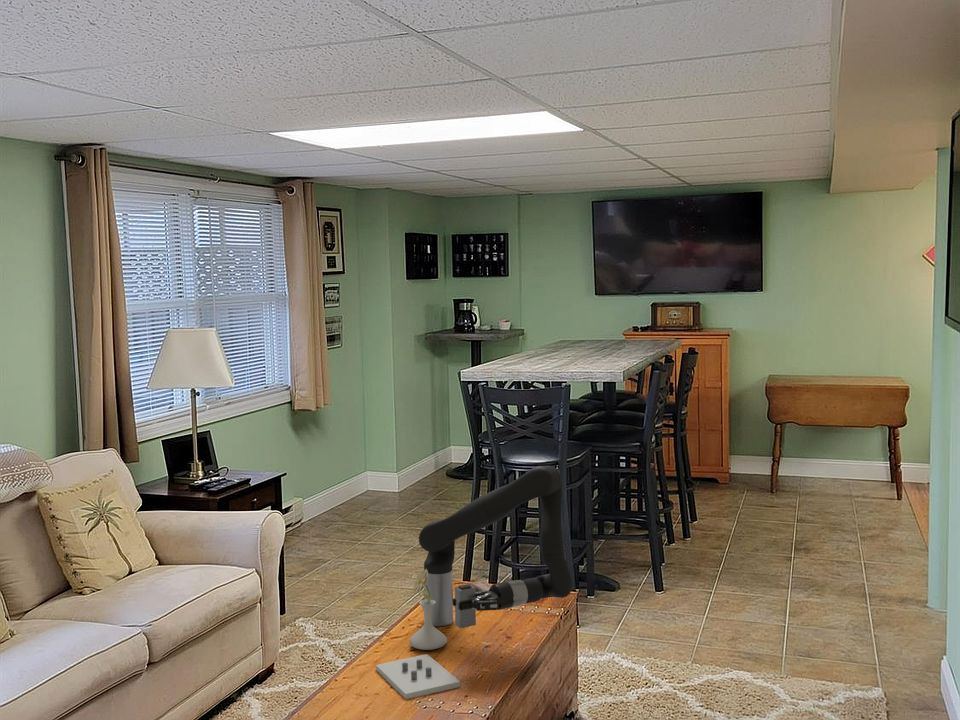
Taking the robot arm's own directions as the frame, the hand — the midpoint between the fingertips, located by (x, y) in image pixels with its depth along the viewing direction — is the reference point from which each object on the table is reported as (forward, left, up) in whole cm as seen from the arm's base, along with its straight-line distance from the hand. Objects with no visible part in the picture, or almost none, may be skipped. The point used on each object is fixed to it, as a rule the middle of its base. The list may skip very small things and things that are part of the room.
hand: (456, 604), depth 270 cm
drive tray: (+1, -13, -18) cm, 23 cm away
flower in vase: (-18, -1, -19) cm, 26 cm away
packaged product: (-48, +35, -19) cm, 62 cm away
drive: (0, +3, -6) cm, 7 cm away
